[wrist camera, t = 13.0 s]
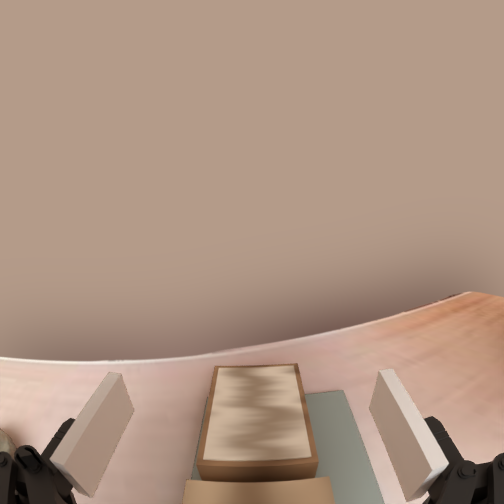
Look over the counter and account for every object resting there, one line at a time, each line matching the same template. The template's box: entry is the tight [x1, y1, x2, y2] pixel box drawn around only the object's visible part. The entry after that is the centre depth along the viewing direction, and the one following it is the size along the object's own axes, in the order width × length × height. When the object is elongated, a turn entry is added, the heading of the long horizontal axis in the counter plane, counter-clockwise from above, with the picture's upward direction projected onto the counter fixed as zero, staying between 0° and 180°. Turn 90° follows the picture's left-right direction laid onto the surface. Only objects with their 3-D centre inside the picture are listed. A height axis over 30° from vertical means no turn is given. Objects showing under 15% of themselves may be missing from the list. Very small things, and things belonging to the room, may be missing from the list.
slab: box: [196, 363, 319, 483], centre depth 23 cm, size 9×3×14 cm
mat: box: [191, 390, 385, 504], centre depth 18 cm, size 15×20×1 cm
